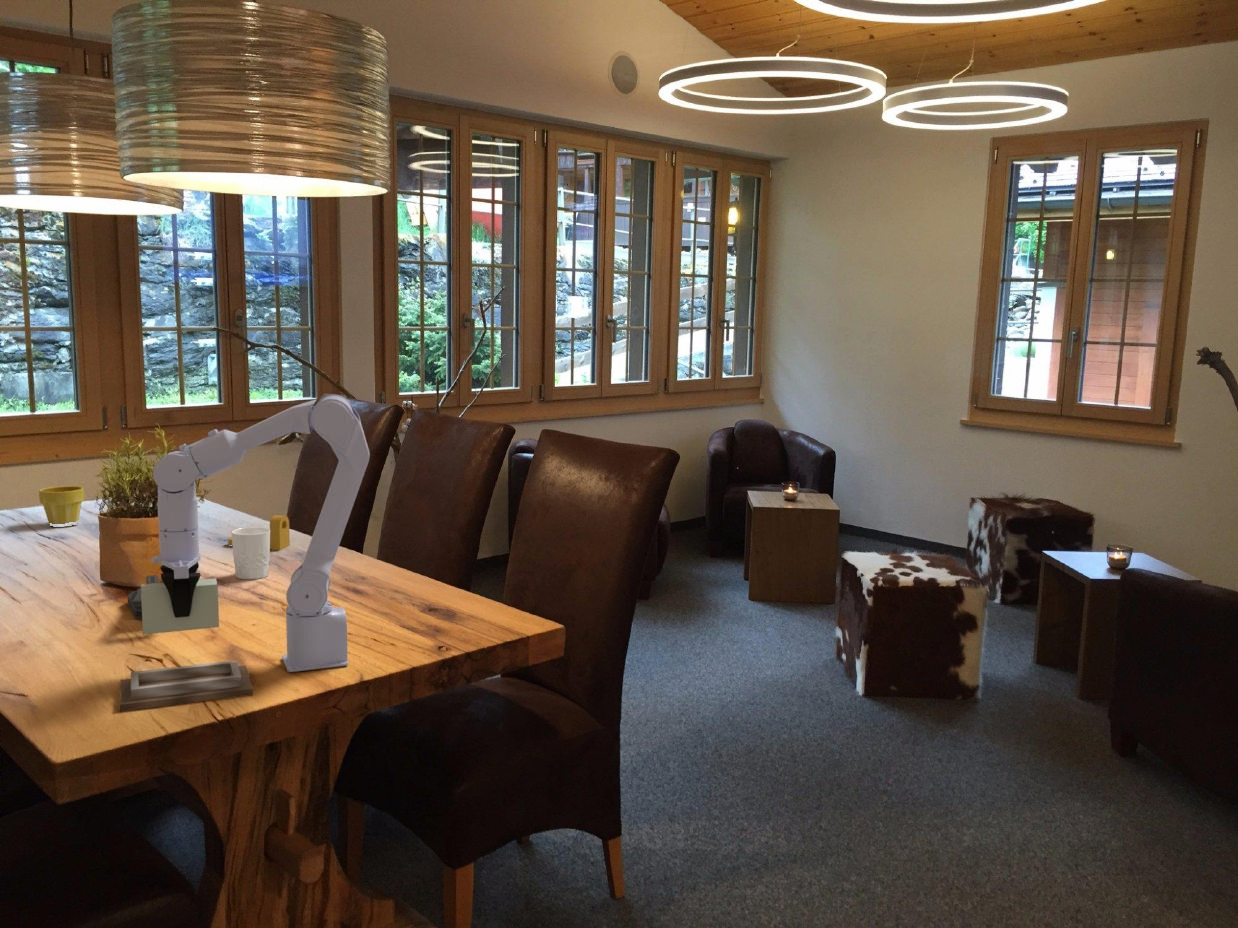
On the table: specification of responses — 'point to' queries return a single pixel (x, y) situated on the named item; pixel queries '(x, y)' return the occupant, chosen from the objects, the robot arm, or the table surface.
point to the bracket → (277, 533)
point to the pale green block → (161, 613)
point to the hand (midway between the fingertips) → (181, 612)
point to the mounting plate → (184, 685)
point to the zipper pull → (139, 598)
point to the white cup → (251, 552)
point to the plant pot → (62, 503)
